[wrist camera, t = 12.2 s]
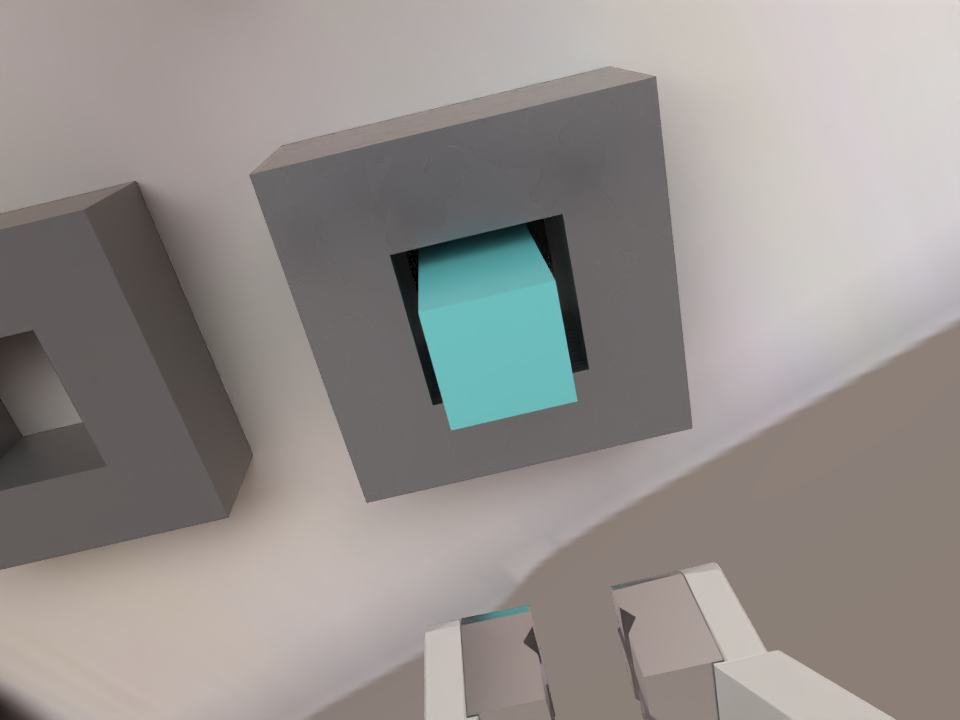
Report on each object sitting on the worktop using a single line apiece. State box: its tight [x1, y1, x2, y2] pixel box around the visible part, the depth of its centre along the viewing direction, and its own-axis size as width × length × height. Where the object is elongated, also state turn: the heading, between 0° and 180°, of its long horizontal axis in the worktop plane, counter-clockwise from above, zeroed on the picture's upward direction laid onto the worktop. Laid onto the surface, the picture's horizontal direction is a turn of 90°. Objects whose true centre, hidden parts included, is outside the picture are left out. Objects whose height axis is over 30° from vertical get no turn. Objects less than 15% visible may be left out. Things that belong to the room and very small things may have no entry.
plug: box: [418, 223, 578, 430], centre depth 22 cm, size 4×4×8 cm
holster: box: [0, 181, 253, 570], centre depth 24 cm, size 11×11×4 cm
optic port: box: [249, 67, 692, 503], centre depth 23 cm, size 11×11×5 cm
